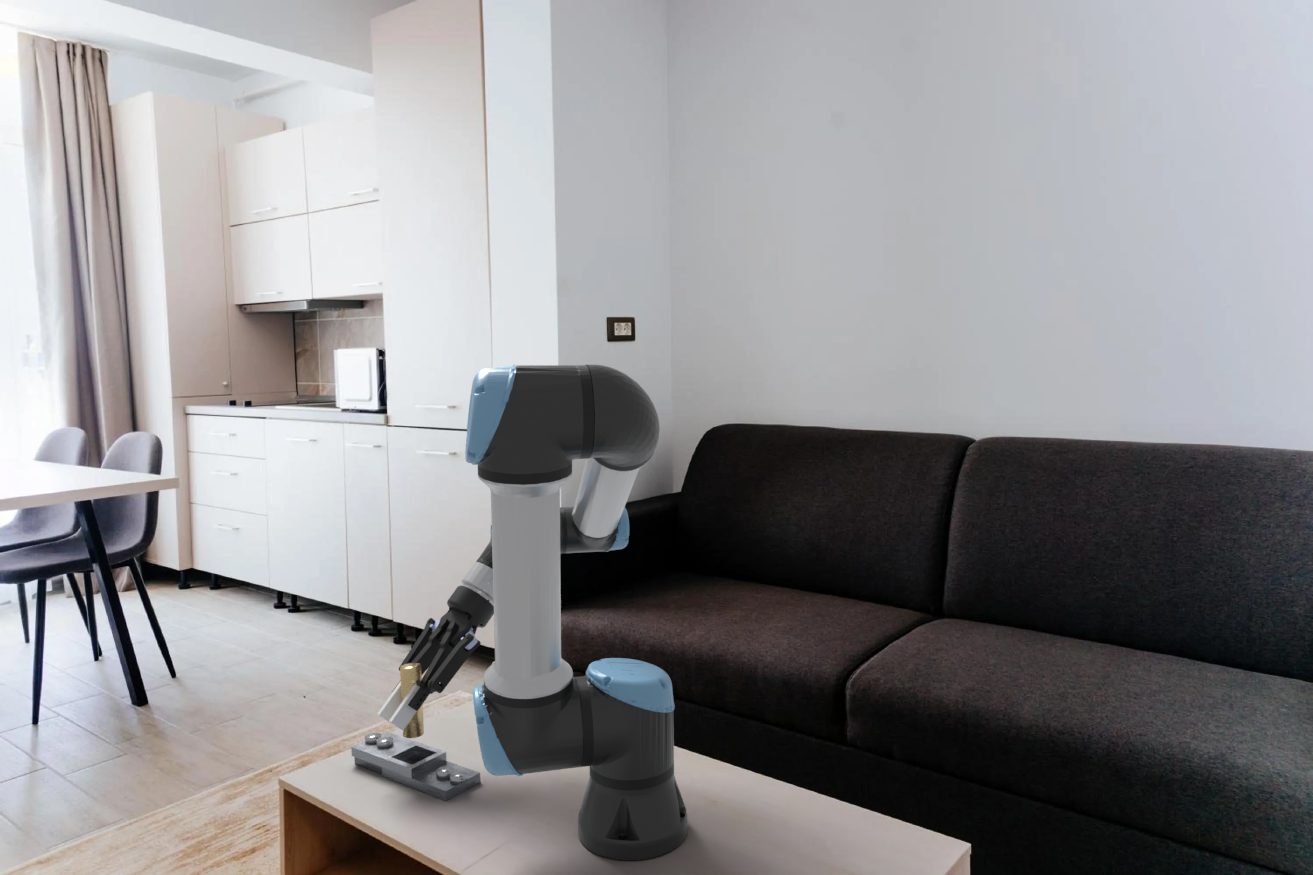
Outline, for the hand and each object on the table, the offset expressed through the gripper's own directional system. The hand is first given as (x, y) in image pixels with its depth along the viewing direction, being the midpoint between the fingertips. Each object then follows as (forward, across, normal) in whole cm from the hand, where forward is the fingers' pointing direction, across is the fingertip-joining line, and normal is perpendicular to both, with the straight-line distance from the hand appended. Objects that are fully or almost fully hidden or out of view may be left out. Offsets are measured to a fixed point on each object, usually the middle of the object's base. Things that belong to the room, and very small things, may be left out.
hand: (390, 721), depth 136 cm
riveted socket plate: (+4, -1, -9) cm, 10 cm away
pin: (-1, 0, -5) cm, 5 cm away
